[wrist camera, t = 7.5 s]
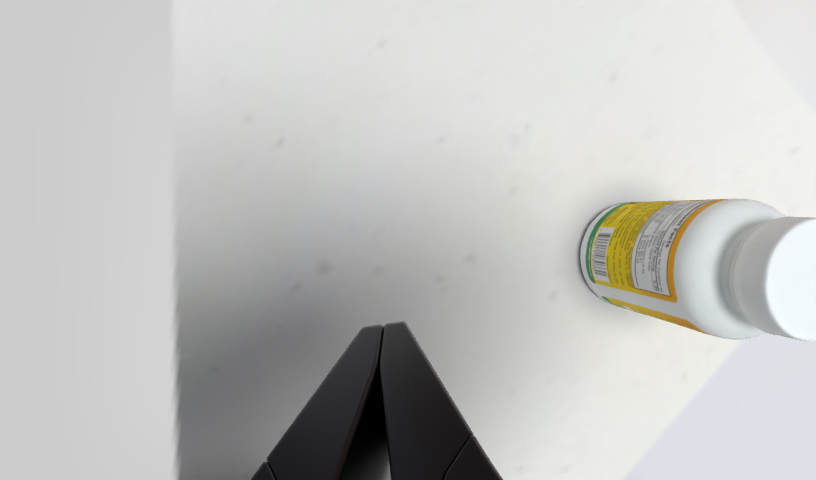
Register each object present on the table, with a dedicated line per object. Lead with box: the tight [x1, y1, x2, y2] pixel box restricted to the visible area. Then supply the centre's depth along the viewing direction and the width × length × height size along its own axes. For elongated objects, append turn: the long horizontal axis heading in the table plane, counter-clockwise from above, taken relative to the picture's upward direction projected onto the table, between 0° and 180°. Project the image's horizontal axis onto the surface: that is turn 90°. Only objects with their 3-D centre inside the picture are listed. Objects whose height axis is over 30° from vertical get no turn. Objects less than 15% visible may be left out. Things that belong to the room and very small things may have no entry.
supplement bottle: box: [580, 199, 816, 341], centre depth 20 cm, size 5×5×10 cm
